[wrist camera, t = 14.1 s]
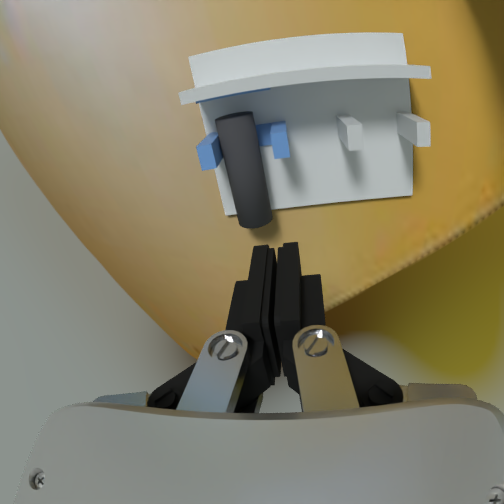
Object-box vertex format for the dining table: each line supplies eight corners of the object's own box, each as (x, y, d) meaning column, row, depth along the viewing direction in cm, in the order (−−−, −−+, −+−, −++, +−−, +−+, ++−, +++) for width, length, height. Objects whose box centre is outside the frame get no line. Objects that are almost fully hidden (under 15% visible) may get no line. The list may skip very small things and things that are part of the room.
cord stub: (228, 113, 27) (207, 122, 25) (259, 110, 25) (239, 119, 23) (249, 210, 32) (232, 226, 30) (278, 212, 31) (262, 230, 29)
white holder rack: (189, 57, 24) (170, 56, 20) (400, 33, 21) (425, 29, 16) (226, 213, 33) (216, 241, 28) (410, 193, 29) (430, 218, 25)
